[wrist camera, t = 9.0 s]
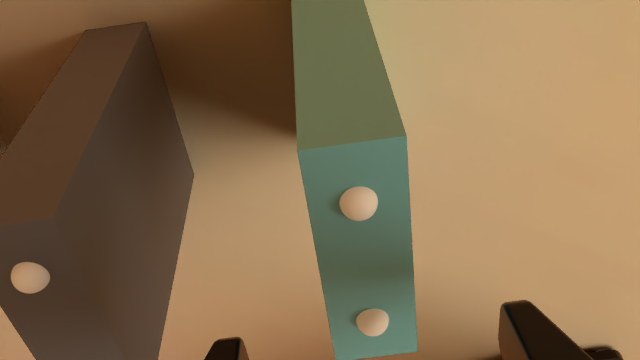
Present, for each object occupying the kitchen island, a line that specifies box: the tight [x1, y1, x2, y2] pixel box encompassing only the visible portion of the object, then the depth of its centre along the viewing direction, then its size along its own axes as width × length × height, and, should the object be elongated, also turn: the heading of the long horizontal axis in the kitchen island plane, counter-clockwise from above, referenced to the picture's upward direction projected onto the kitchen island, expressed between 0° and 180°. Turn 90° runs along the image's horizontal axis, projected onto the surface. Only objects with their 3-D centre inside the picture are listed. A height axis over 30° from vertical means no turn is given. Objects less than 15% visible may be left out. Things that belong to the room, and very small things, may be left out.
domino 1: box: [0, 22, 194, 360], centre depth 14 cm, size 5×2×8 cm, turn 7°
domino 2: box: [291, 0, 418, 360], centre depth 13 cm, size 5×2×8 cm, turn 7°
